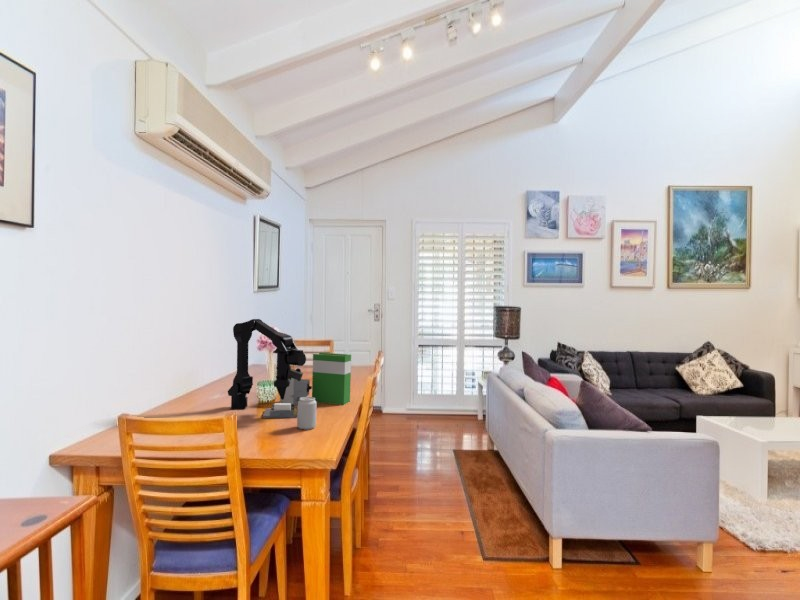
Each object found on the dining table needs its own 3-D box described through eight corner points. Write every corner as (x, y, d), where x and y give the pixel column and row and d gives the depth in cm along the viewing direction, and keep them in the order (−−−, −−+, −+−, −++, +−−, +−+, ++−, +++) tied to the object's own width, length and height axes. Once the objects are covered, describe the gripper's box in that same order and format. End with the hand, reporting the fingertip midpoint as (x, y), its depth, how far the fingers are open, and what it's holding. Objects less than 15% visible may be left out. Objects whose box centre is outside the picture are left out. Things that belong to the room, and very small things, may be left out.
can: (299, 431, 176) (300, 400, 176) (294, 426, 183) (295, 396, 183) (318, 429, 180) (319, 399, 180) (312, 424, 186) (313, 395, 186)
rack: (262, 418, 193) (262, 411, 193) (265, 410, 206) (266, 404, 206) (300, 417, 196) (300, 410, 196) (301, 410, 209) (301, 403, 209)
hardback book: (311, 401, 227) (313, 354, 227) (318, 398, 234) (320, 352, 234) (343, 404, 221) (345, 356, 221) (349, 401, 229) (351, 354, 228)
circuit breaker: (309, 405, 219) (309, 374, 219) (279, 404, 219) (280, 373, 219) (312, 401, 226) (313, 372, 226) (284, 400, 227) (285, 371, 227)
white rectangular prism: (273, 414, 196) (274, 404, 196) (274, 412, 199) (274, 403, 199) (290, 413, 197) (290, 404, 197) (290, 412, 200) (290, 403, 200)
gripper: (301, 367, 191) (300, 403, 191) (302, 361, 209) (301, 394, 209) (274, 367, 189) (273, 404, 189) (278, 360, 207) (277, 394, 207)
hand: (282, 399), depth 198 cm, fingers closed
